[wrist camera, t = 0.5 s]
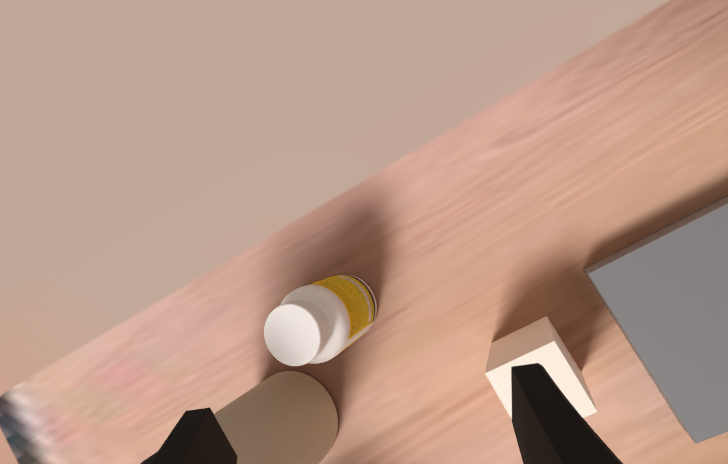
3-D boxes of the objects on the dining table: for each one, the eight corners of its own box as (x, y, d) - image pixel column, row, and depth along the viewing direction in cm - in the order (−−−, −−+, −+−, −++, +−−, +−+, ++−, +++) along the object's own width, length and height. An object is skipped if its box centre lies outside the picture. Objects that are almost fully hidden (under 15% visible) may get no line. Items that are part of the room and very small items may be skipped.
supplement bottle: (338, 259, 38) (280, 274, 29) (390, 299, 37) (349, 328, 28) (304, 311, 39) (239, 341, 30) (355, 351, 38) (303, 396, 29)
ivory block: (581, 371, 33) (597, 411, 26) (523, 397, 34) (524, 441, 28) (546, 315, 33) (554, 340, 27) (491, 342, 35) (485, 373, 28)
